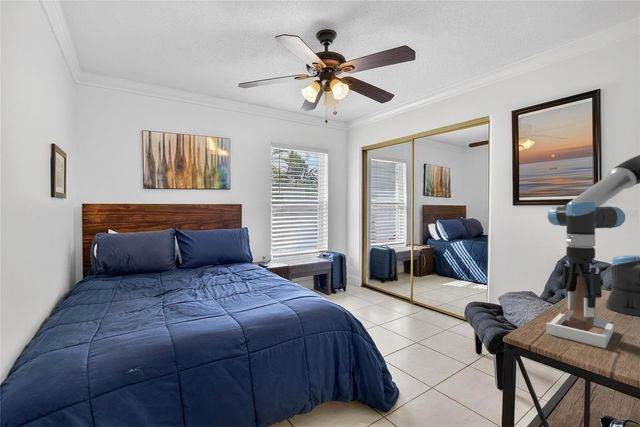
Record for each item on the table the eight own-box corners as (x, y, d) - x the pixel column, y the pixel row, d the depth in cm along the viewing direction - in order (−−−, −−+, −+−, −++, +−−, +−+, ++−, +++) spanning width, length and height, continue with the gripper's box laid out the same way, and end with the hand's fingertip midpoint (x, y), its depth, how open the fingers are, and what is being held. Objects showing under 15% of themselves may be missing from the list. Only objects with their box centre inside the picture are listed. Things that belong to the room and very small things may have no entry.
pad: (571, 313, 124) (571, 312, 124) (611, 322, 115) (611, 321, 115) (564, 320, 117) (564, 319, 117) (607, 329, 108) (607, 328, 108)
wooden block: (584, 334, 101) (589, 281, 100) (568, 329, 105) (572, 277, 103) (593, 327, 106) (598, 277, 105) (577, 323, 110) (581, 273, 108)
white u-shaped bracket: (559, 319, 118) (559, 310, 118) (613, 331, 107) (613, 321, 106) (546, 333, 105) (546, 323, 105) (605, 348, 94) (605, 337, 94)
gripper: (549, 243, 114) (549, 304, 115) (593, 250, 95) (593, 323, 96) (569, 242, 114) (569, 304, 115) (618, 250, 95) (618, 323, 96)
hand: (580, 313), depth 105 cm, fingers closed on wooden block, 6 cm apart
